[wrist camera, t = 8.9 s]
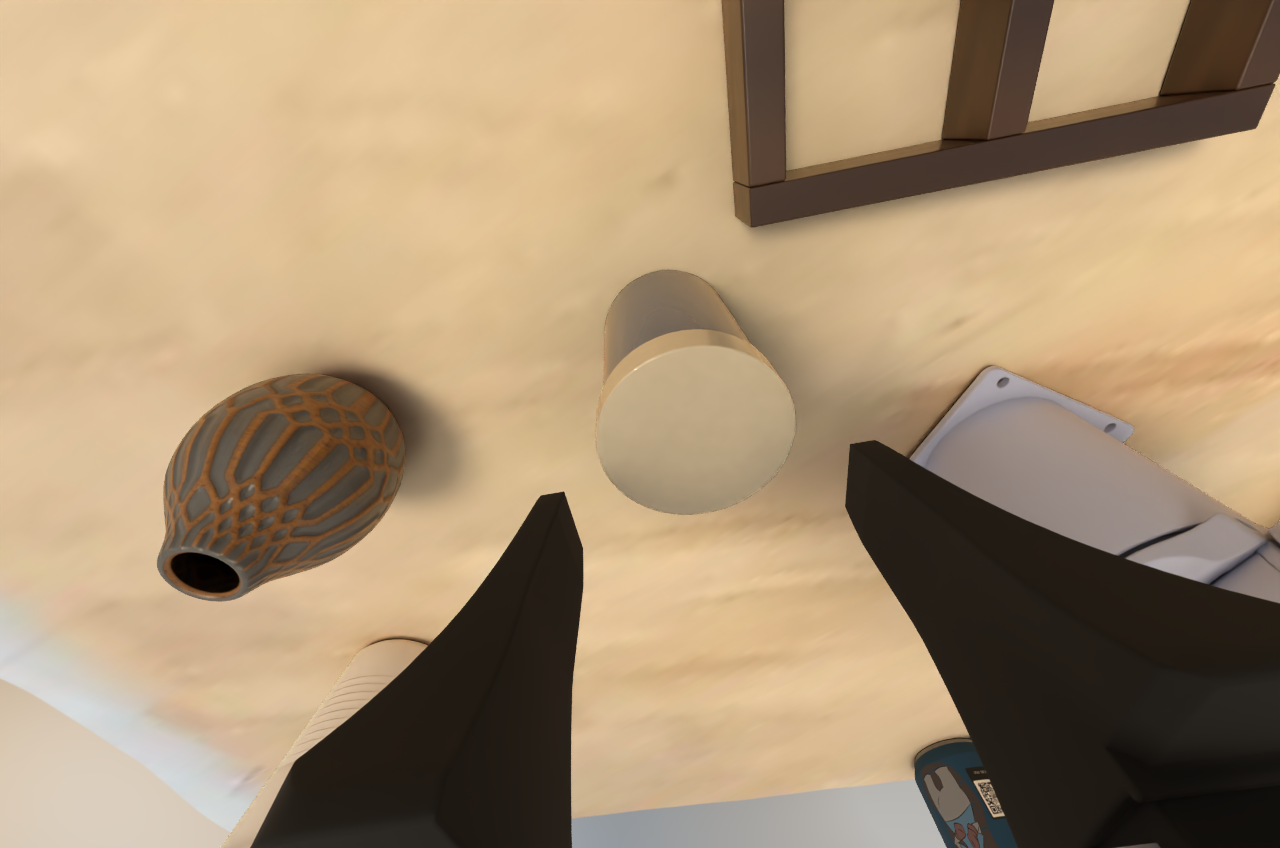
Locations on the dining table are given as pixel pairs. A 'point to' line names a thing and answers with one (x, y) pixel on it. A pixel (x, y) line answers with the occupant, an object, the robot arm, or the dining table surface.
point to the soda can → (961, 796)
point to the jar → (687, 400)
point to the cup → (330, 721)
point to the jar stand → (991, 106)
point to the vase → (277, 484)
